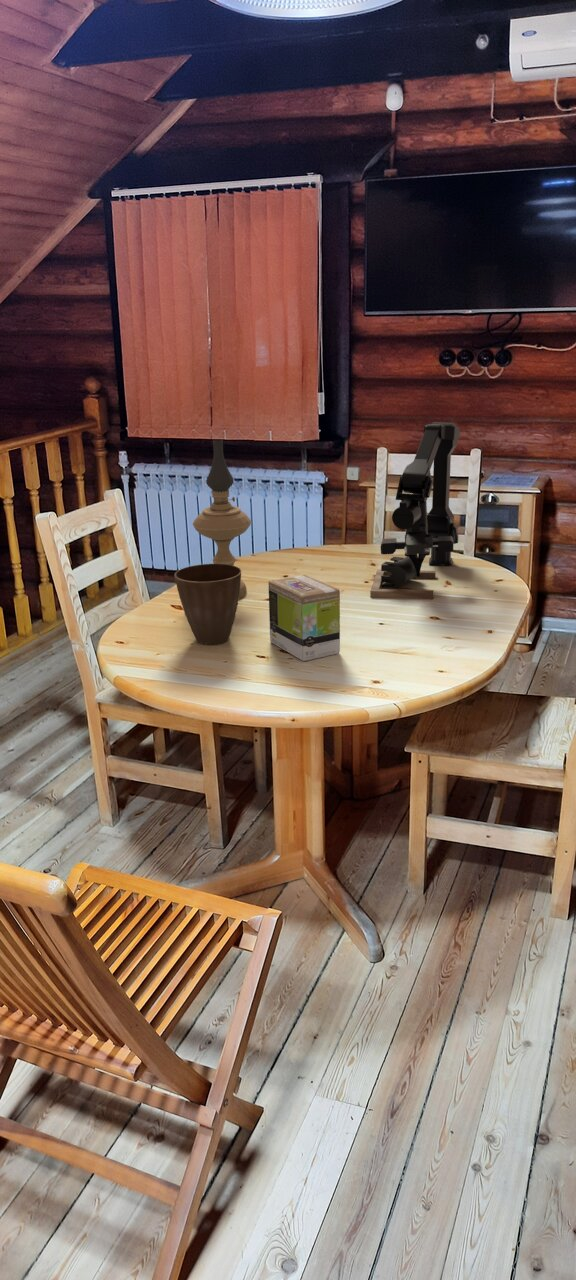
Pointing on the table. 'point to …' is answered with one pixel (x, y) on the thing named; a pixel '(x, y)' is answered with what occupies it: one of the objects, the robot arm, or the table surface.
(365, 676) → the table surface
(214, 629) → the plant pot
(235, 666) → the table surface
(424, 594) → the brown u-shaped frame
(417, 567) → the robot arm
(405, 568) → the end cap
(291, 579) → the tea box
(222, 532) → the oil lamp
